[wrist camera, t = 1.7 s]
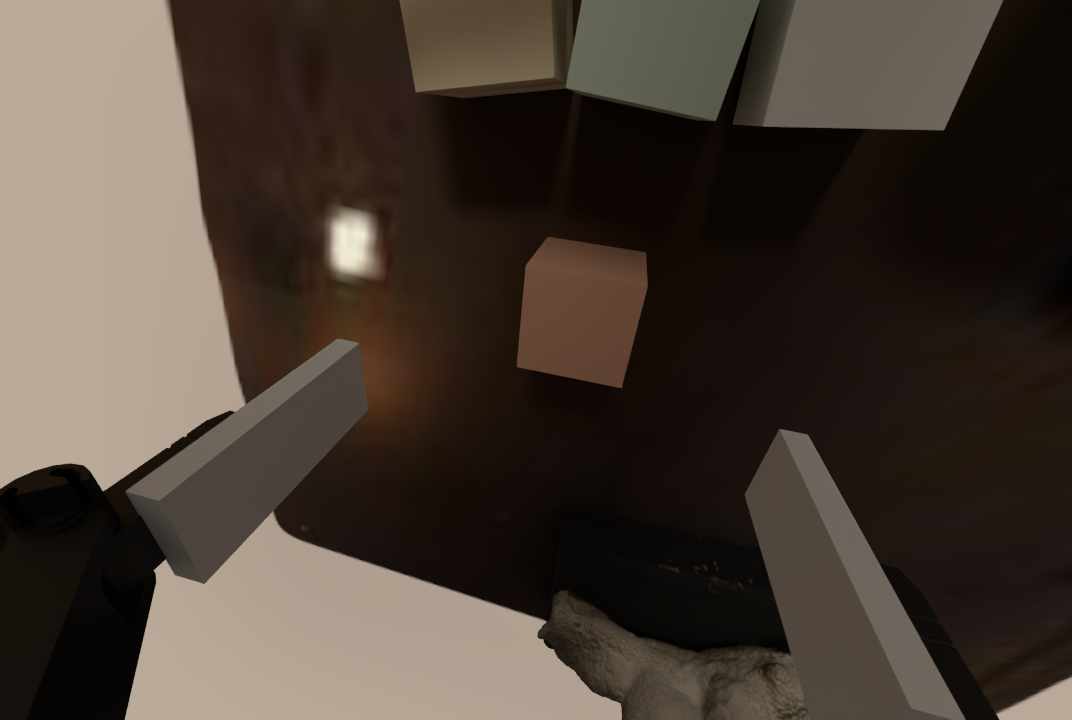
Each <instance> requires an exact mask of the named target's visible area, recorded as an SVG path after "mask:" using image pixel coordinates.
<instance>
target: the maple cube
mask: <svg viewBox="0 0 1072 720" xmlns="http://www.w3.org/2000/svg"><path fill="white" fill-rule="evenodd" d="M400 6H401V11H402V17H403V22H404V28H405V34H406V39H407V45H408V50H409V56H410V62H411V67H412V73H413V78H414V84H415V90H416V92H419V93H427V94H435V95H443V96H451V97H459V98H473V97H483V96H493V95H503V94H514V93H524V92H534V91H544V90H554V89H564V88H566V83H567V77H568V72H569V67H570V62H571V56H572V51H573V5H572V0H400Z"/></svg>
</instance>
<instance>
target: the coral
mask: <svg viewBox="0 0 1072 720" xmlns="http://www.w3.org/2000/svg"><path fill="white" fill-rule="evenodd" d="M538 638H540V639H544V643H545V644H546V646H547V647H548V648H550V649H554V651H555V653H556V655H557V657H558V658H559V659H560V660H561V661H562V662H563V663H564V664H565V665H566V666H569V667H570V668H571V669H573V670H574V671H575V672H576V674H577V675H578V676H579V677H580V679H581V680H582V681H583V682H584V683H585V684H586V685H587V686H588V687H589V689H590V690H591V691H592V692H594V693H596V694H598V695H600V696H602V697H607V698H609V699H611V700H613V701H617V702H619V703H621V707H622V720H811V719H810V716H809V712H808V709H807V706H806V702H805V699H804V695H803V692H802V689H801V685H800V682H799V678H798V675H797V672H796V668H795V665H794V661H793V658H792V654H791V651H790V648H789V644H788V641H787V637H786V634H785V631H784V627H783V624H782V620H781V617H780V614H779V610H778V607H777V603H776V600H775V597H774V593H773V590H772V586H771V583H770V579H769V576H768V573H767V569H766V566H765V562H764V559H763V556H762V552H761V549H760V547H756V546H752V545H747V544H741V543H737V542H733V541H728V540H723V539H719V538H713V537H709V536H705V535H701V534H696V533H691V532H686V531H683V530H677V529H672V528H669V527H664V526H660V525H656V524H651V523H646V522H641V521H637V520H632V519H628V518H623V517H619V516H614V515H610V514H606V513H602V512H597V511H592V510H587V509H583V508H579V507H574V506H568V507H567V510H566V513H565V518H564V523H563V528H562V533H561V538H560V543H559V549H558V555H557V561H556V567H555V573H554V579H553V585H552V592H551V597H550V604H549V609H548V616H547V622H546V623H545V624H544V625H543V626H542V628H541V629H540V630H539V632H538Z"/></svg>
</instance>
